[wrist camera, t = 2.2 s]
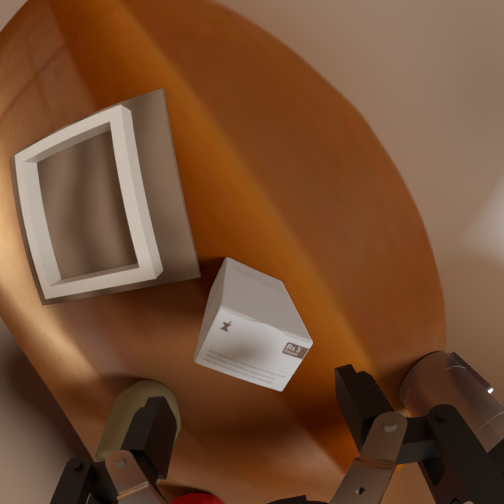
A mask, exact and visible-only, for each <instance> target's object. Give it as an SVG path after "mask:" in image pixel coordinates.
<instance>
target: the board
mask: <svg viewBox="0 0 504 504" xmlns="http://www.w3.org/2000/svg"><path fill="white" fill-rule="evenodd" d="M118 105H122V106H124V107H126V108H127V109H129V110H130V111H131V115H132V122H133V129H134V135H135V142H136V148H137V154H138V160H139V165H140V171H141V176H142V181H143V186H144V191H145V196H146V201H147V205H148V210H149V214H150V219H151V223H152V227H153V232H154V236H155V240H156V244H157V248H158V252H159V256H160V259H161V263H162V267H163V272H162V273H161V274H160V275H159V276H158V277H157V278H156V279H152V280H147V281H141V282H136V283H131V284H125V285H120V286H115V287H109V288H104V289H99V290H93V291H88V292H83V293H77V294H72V295H66V296H61V297H55V298H50V299H45V296H44V294H43V291H42V288H41V284H40V281H39V278H38V275H37V272H36V268H35V265H34V261H33V258H32V254H31V250H30V246H29V242H28V238H27V233H26V229H25V224H24V219H23V214H22V208H21V203H20V196H19V190H18V182H17V174H16V165H15V155H16V154H18V153H20V152H21V151H23V150H25V149H26V148H28V147H30V146H32V145H33V144H35V143H37V142H39V141H41V140H43V139H44V138H46V137H48V136H50V135H52V134H54V133H56V132H58V131H60V130H62V129H64V128H66V127H68V126H70V125H73V124H75V123H77V122H79V121H81V120H84V119H86V118H88V117H90V116H93V115H95V114H98V113H100V112H103V111H105V110H108V109H110V108H113V107H115V106H118ZM10 161H11V171H12V180H13V188H14V195H15V201H16V207H17V213H18V218H19V223H20V228H21V233H22V237H23V241H24V246H25V250H26V254H27V257H28V261H29V265H30V268H31V271H32V275H33V278H34V281H35V284H36V287H37V290H38V293H39V296H40V299H41V302H42V305H49V304H55V303H61V302H67V301H72V300H78V299H84V298H90V297H96V296H101V295H107V294H113V293H118V292H124V291H130V290H135V289H141V288H146V287H152V286H157V285H163V284H168V283H173V282H179V281H184V280H189V279H195V278H200V277H201V275H202V274H201V270H200V266H199V262H198V258H197V254H196V250H195V245H194V241H193V237H192V233H191V228H190V224H189V219H188V215H187V210H186V206H185V201H184V196H183V191H182V187H181V182H180V177H179V172H178V167H177V161H176V156H175V151H174V145H173V140H172V134H171V129H170V123H169V117H168V111H167V105H166V98H165V92H164V90H163V89H159V90H155V91H152V92H149V93H146V94H143V95H140V96H137V97H134V98H131V99H128V100H125V101H123V102H120V103H117V104H115V105H112V106H109V107H107V108H104V109H102V110H99V111H97V112H95V113H92V114H90V115H88V116H85V117H83V118H81V119H79V120H76V121H74V122H72V123H70V124H68V125H66V126H64V127H62V128H60V129H58V130H56V131H54V132H52V133H50V134H48V135H46V136H44V137H42V138H40V139H39V140H37V141H35V142H33V143H31V144H30V145H28V146H26V147H25V148H23V149H21V150H19V151H18V152H16V153H15V154H13V155H11V156H10ZM37 169H38V177H39V184H40V190H41V196H42V202H43V207H44V213H45V218H46V222H47V227H48V231H49V236H50V240H51V244H52V248H53V251H54V255H55V259H56V262H57V266H58V269H59V273H60V276H61V279H66V278H71V277H75V276H80V275H84V274H89V273H93V272H98V271H103V270H107V269H112V268H116V267H121V266H126V265H130V264H135V263H138V260H137V256H136V252H135V249H134V245H133V241H132V237H131V233H130V229H129V224H128V220H127V216H126V211H125V207H124V202H123V197H122V192H121V187H120V182H119V177H118V171H117V165H116V159H115V153H114V147H113V140H112V132H111V130H110V131H107V132H104V133H102V134H99V135H97V136H94V137H92V138H89V139H87V140H85V141H82V142H80V143H78V144H75V145H73V146H71V147H68V148H66V149H64V150H62V151H60V152H58V153H55V154H53V155H51V156H49V157H47V158H45V159H43V160H41V161H39V162H37Z"/></svg>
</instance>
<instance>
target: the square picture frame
mask: <svg viewBox="0 0 504 504" xmlns="http://www.w3.org/2000/svg"><path fill="white" fill-rule="evenodd" d="M110 130H111V132H112V140H113V147H114V153H115V159H116V165H117V171H118V177H119V182H120V187H121V192H122V197H123V202H124V207H125V211H126V216H127V220H128V224H129V229H130V233H131V237H132V241H133V245H134V249H135V252H136V256H137V260H138V263H135V264H130V265H126V266H121V267H116V268H112V269H107V270H103V271H98V272H93V273H89V274H84V275H80V276H75V277H71V278H66V279H61V276H60V273H59V269H58V266H57V262H56V259H55V255H54V251H53V248H52V244H51V240H50V236H49V231H48V227H47V222H46V218H45V213H44V207H43V202H42V196H41V190H40V184H39V177H38V169H37V162H39V161H41V160H43V159H45V158H47V157H49V156H51V155H53V154H55V153H58V152H60V151H62V150H64V149H66V148H68V147H71V146H73V145H75V144H78V143H80V142H82V141H85V140H87V139H89V138H92V137H94V136H97V135H99V134H102V133H104V132H107V131H110ZM15 165H16V174H17V182H18V190H19V196H20V203H21V208H22V214H23V219H24V224H25V229H26V233H27V238H28V242H29V246H30V250H31V254H32V258H33V261H34V265H35V268H36V272H37V275H38V278H39V281H40V284H41V288H42V291H43V294H44V296H45V299H50V298H55V297H61V296H66V295H72V294H77V293H83V292H88V291H93V290H99V289H104V288H109V287H115V286H120V285H125V284H131V283H136V282H141V281H147V280H152V279H156V278H157V277H158V276H159V275H160V274H161V273H162V272H163V267H162V263H161V259H160V256H159V252H158V248H157V244H156V240H155V236H154V232H153V227H152V223H151V219H150V214H149V210H148V205H147V201H146V196H145V191H144V186H143V181H142V176H141V171H140V165H139V160H138V154H137V148H136V142H135V135H134V129H133V122H132V115H131V111H130V110H129V109H127V108H126V107H124V106H122V105H118V106H115V107H113V108H110V109H108V110H105V111H103V112H100V113H98V114H95V115H93V116H90V117H88V118H86V119H84V120H81V121H79V122H77V123H75V124H73V125H70V126H68V127H66V128H64V129H62V130H60V131H58V132H56V133H54V134H52V135H50V136H48V137H46V138H44V139H43V140H41V141H39V142H37V143H35V144H33V145H32V146H30V147H28V148H26V149H25V150H23V151H21V152H20V153H18V154H16V155H15Z"/></svg>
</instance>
